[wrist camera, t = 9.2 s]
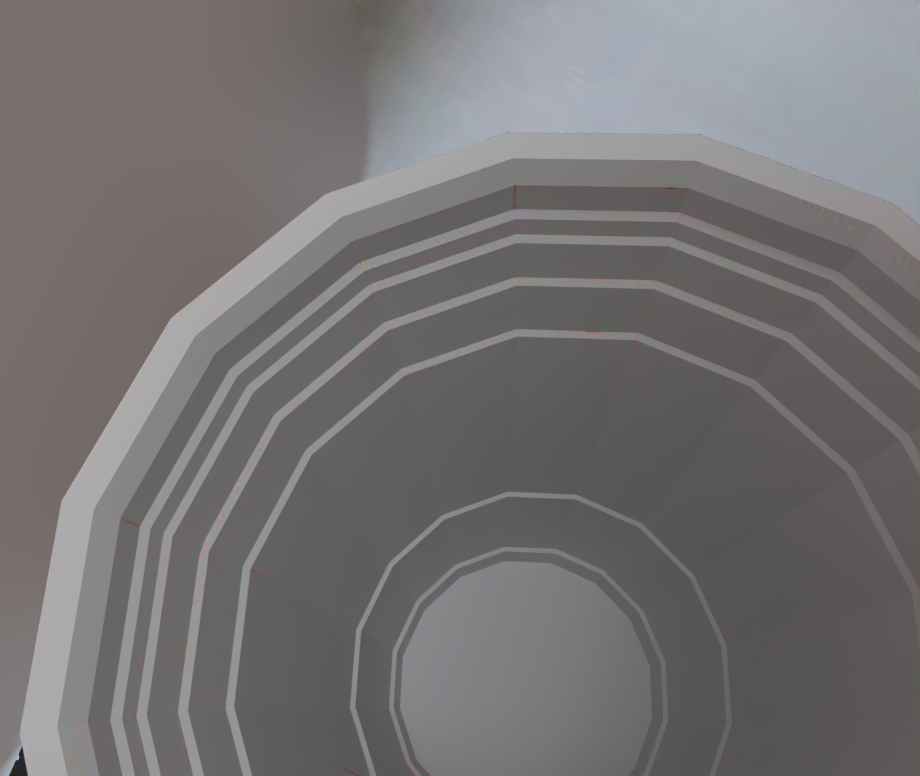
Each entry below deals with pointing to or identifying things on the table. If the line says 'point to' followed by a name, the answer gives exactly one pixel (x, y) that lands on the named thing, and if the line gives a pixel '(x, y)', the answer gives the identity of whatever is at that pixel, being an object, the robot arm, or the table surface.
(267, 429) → the plastic cup
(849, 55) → the table surface
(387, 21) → the table surface
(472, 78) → the table surface
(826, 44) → the table surface
